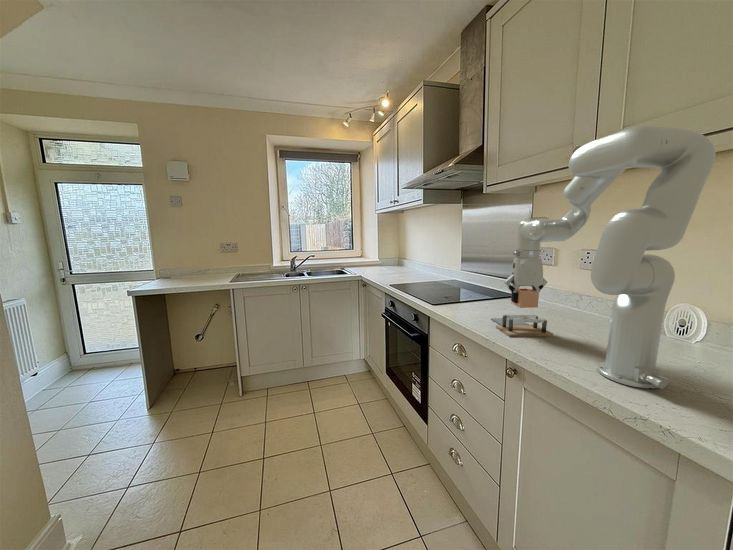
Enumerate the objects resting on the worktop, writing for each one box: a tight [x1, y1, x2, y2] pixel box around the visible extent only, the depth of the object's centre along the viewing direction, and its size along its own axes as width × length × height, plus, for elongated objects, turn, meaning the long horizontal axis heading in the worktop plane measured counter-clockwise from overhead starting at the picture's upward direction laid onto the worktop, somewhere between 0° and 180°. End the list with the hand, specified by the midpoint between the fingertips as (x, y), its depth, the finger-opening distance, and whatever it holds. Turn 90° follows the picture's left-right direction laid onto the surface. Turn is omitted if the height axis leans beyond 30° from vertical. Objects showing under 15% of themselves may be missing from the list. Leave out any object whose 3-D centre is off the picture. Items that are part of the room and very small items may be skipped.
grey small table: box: [502, 314, 548, 333], centre depth 108 cm, size 8×12×5 cm
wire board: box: [495, 324, 554, 338], centre depth 108 cm, size 10×16×1 cm, turn 93°
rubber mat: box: [490, 317, 530, 326], centre depth 119 cm, size 9×11×1 cm
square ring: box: [510, 287, 540, 309], centre depth 109 cm, size 7×7×6 cm
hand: (524, 301), depth 109 cm, fingers closed on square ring, 6 cm apart
